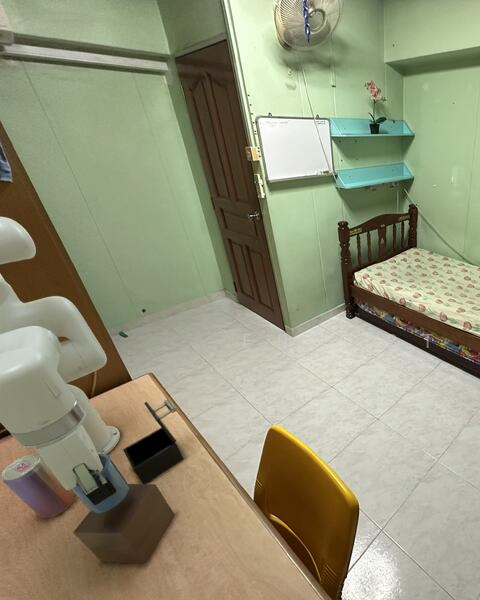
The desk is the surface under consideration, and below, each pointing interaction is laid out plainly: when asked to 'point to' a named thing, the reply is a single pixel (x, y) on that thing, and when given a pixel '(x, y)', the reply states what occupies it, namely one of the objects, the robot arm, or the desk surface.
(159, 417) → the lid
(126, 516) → the stand
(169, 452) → the wash box
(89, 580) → the desk surface
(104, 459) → the cup
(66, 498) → the beverage can
